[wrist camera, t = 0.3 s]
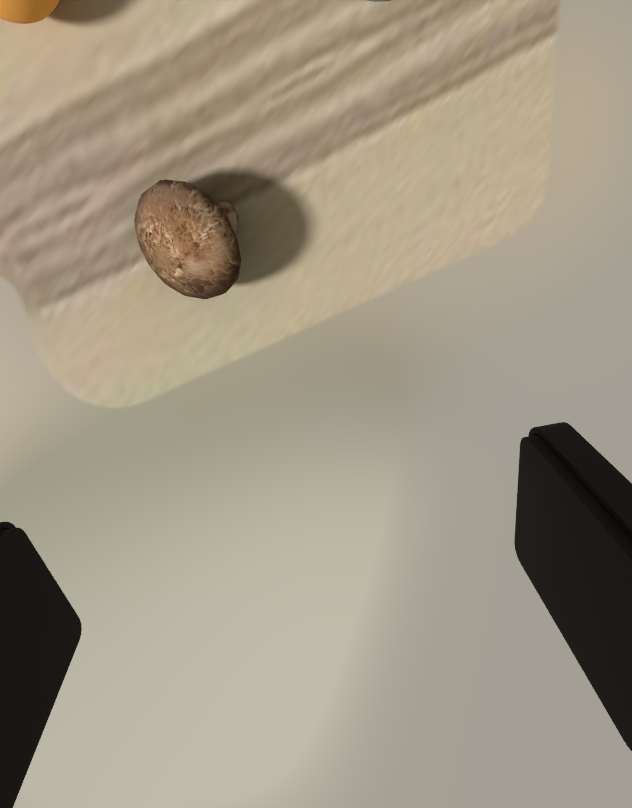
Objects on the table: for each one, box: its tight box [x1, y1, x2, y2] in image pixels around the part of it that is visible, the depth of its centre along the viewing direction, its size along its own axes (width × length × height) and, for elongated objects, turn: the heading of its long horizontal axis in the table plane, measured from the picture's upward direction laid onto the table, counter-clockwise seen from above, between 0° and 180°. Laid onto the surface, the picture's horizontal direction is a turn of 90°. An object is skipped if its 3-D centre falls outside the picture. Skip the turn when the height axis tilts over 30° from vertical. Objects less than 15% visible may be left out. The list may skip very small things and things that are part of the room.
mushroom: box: [134, 180, 241, 299], centre depth 33 cm, size 8×8×6 cm
